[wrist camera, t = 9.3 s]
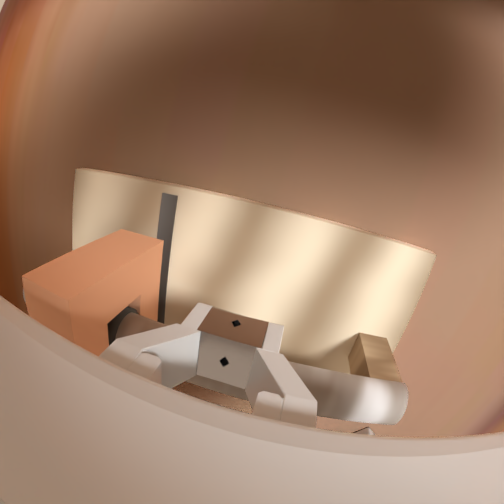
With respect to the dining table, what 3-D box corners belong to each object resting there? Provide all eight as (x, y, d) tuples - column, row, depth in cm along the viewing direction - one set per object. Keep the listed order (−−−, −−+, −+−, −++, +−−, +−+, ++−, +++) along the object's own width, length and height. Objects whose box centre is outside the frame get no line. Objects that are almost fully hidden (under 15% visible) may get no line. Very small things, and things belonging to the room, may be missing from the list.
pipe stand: (430, 250, 15) (491, 303, 8) (351, 410, 20) (356, 484, 13) (84, 167, 18) (4, 179, 11) (85, 327, 22) (33, 371, 15)
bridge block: (163, 240, 16) (68, 300, 9) (156, 348, 19) (95, 428, 11) (121, 228, 16) (21, 275, 9) (120, 334, 19) (54, 402, 11)
